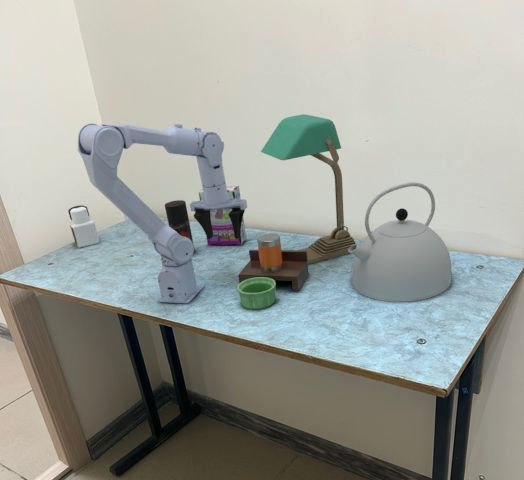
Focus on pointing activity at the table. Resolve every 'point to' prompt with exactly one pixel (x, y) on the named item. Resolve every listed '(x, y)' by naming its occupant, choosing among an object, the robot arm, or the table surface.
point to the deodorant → (178, 218)
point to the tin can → (270, 253)
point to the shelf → (291, 271)
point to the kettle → (401, 258)
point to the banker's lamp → (313, 143)
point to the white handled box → (82, 226)
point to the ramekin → (257, 292)
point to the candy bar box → (225, 222)
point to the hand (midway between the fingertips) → (224, 237)
